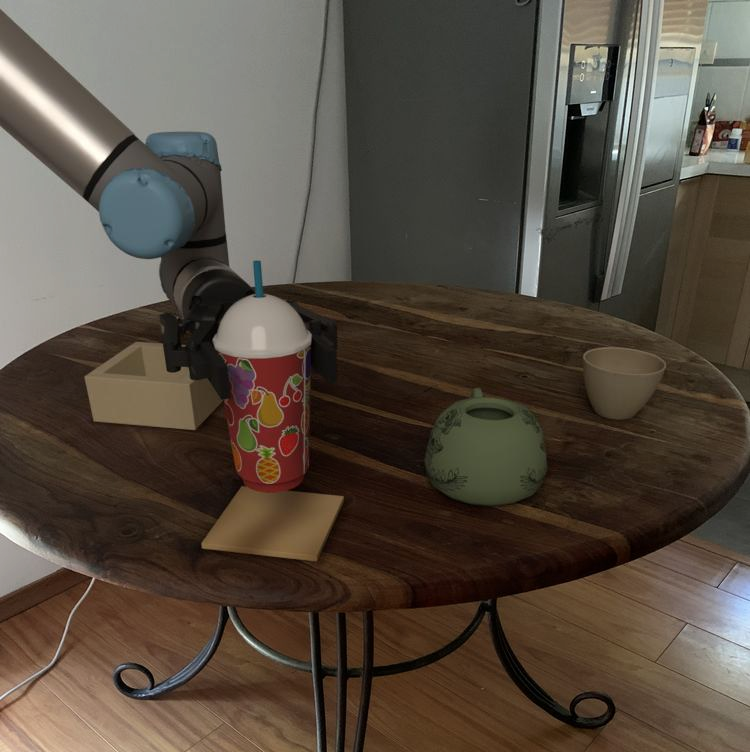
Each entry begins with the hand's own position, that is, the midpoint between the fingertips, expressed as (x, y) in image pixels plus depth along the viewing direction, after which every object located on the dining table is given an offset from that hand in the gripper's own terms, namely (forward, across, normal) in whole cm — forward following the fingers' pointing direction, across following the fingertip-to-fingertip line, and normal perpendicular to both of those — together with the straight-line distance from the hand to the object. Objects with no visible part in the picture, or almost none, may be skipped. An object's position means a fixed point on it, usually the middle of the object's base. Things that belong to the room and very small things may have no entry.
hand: (279, 374), depth 59 cm
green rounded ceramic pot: (-5, -23, -17) cm, 29 cm away
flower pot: (-14, -48, -17) cm, 53 cm away
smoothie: (-5, 0, -12) cm, 13 cm away
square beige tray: (-39, +5, -17) cm, 42 cm away
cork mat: (-5, 0, -17) cm, 18 cm away
